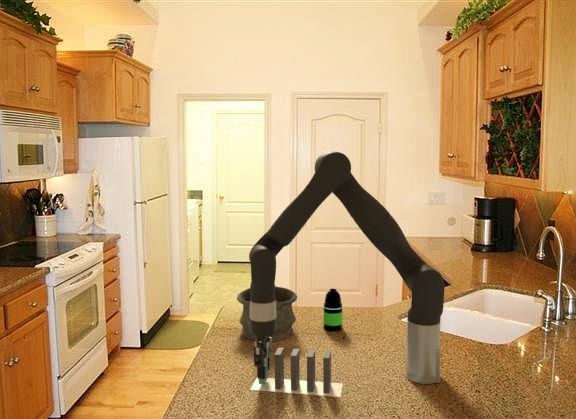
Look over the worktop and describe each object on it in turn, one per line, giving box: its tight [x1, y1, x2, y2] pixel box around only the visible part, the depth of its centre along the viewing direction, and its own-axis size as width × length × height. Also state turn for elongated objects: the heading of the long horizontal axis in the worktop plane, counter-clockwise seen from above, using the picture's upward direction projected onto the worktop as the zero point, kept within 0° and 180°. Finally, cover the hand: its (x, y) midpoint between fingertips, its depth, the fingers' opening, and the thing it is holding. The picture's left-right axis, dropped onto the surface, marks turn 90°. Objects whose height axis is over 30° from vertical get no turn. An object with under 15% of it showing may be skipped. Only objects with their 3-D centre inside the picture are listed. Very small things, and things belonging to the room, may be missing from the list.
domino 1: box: [259, 352, 269, 385], centre depth 145 cm, size 2×5×10 cm, turn 169°
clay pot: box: [236, 285, 298, 342], centre depth 187 cm, size 22×23×30 cm
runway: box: [249, 377, 344, 398], centre depth 144 cm, size 25×8×1 cm, turn 79°
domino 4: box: [306, 349, 316, 392], centre depth 143 cm, size 2×5×10 cm, turn 169°
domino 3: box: [290, 348, 301, 391], centre depth 144 cm, size 2×5×10 cm, turn 169°
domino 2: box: [274, 347, 285, 389], centre depth 145 cm, size 2×5×10 cm, turn 169°
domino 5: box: [322, 350, 332, 393], centre depth 142 cm, size 2×5×10 cm, turn 169°
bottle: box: [322, 288, 344, 333], centre depth 191 cm, size 7×7×15 cm
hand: (263, 373), depth 146 cm, fingers closed on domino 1, 5 cm apart
